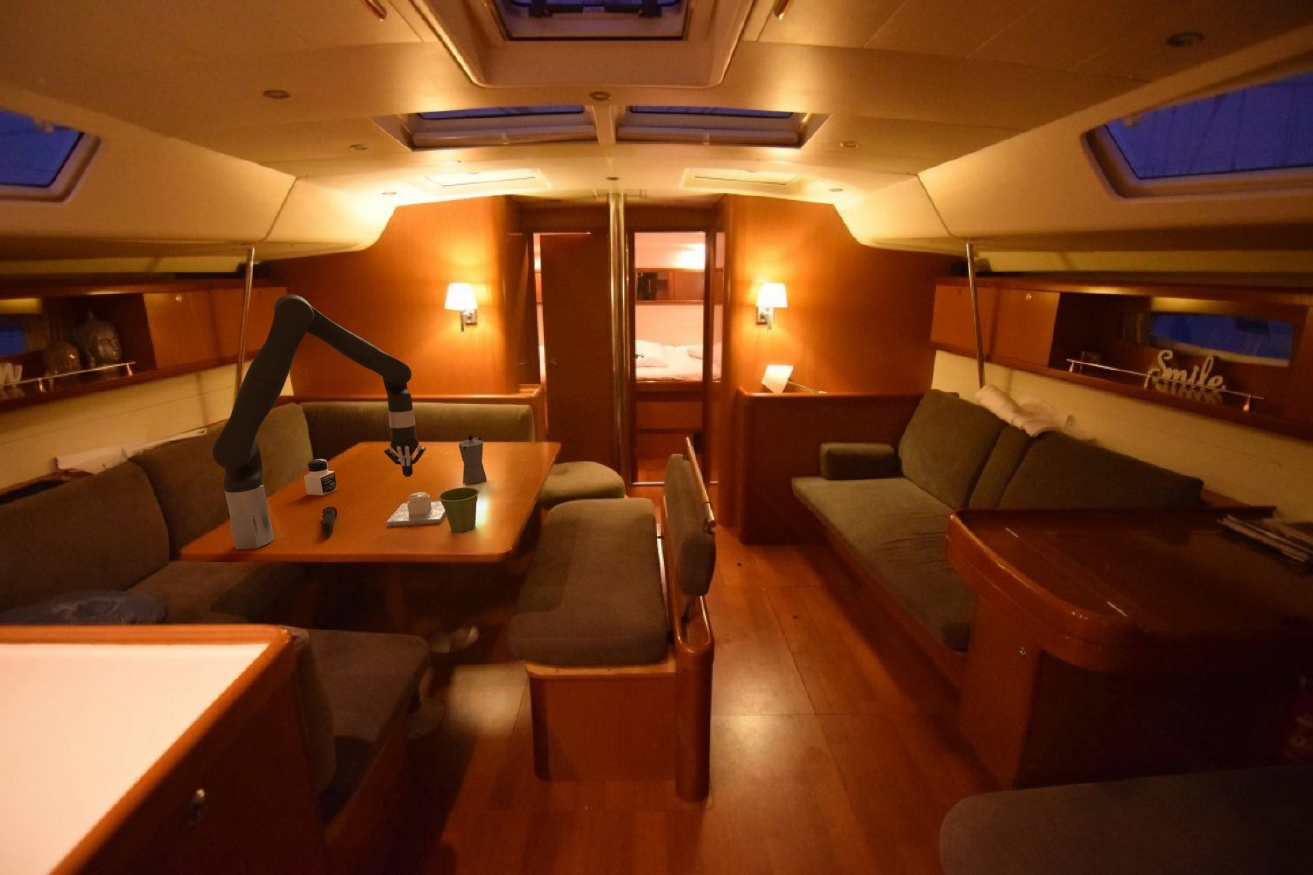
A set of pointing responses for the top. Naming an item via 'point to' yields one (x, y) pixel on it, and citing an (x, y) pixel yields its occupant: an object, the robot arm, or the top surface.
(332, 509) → the hand tool
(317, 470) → the medicine bottle
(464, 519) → the plant pot
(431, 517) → the block
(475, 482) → the coffeepot
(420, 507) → the knob
